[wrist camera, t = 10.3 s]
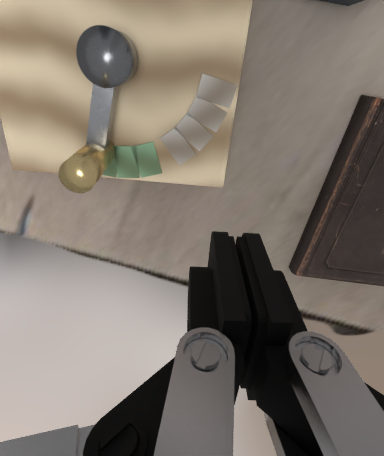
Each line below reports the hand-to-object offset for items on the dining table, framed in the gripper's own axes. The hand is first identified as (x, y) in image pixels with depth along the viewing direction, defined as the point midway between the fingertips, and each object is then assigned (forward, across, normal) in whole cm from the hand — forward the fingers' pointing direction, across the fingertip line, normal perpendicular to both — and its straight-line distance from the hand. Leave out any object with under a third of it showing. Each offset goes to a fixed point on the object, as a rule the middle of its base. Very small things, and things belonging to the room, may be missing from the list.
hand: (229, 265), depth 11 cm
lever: (+23, +10, -1) cm, 25 cm away
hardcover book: (+25, -23, +8) cm, 35 cm away
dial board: (+24, +9, -6) cm, 27 cm away
